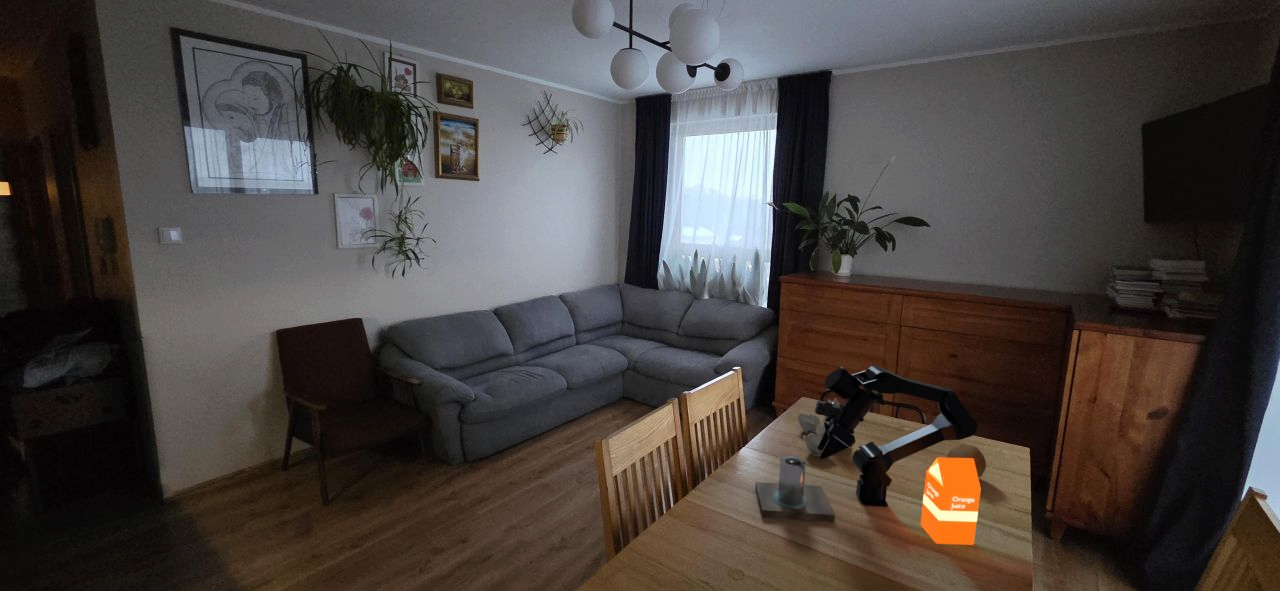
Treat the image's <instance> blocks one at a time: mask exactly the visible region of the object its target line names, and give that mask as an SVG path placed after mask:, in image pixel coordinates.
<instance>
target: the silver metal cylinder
mask: <svg viewBox="0 0 1280 591" xmlns="http://www.w3.org/2000/svg"><path fill="white" fill-rule="evenodd" d="M805 477H806V461H805V460H804V459H802V458H800V457H797V456H791V455H788V456H782V457H781V458H780V459H779V477H778V483H779V490H778V499H779V500H780V501H781V502H782V503H784V504H787V505H791V506H797V505H801V504H802V503H803V496H804V485H805V482H806V481H805V479H806V478H805Z"/></svg>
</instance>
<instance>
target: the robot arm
mask: <svg viewBox="0 0 1280 591" xmlns="http://www.w3.org/2000/svg"><path fill="white" fill-rule="evenodd" d="M861 386H862V387H861ZM824 387H825V388H826V389H828V390H829V391H831V392H832V393H833V394H834V395H837V396H838V397H840V398H841V399H842V400H846V401H845V402H844V403H843V402H841V403H840V406H839V407H838V406H835V405H832V403H829V402H828V400H827V401H822V400H821V399H820V400H819V399H818V400H817V401H816V405H815V408H814V413H815V415H819V416H824V418H825V419H824V418H823V419H824V420H825V421H826V422H827V421H828V422H827V423H826V422H825V421H824V420H823V423H824V426H825V432H824V434H823V436H822V439H821V441H820V443H819V445H818V450H820V451H821V450H823V451H822V453H821V455H820V457H819V458H820V459H821V460H825V459H827V458H829V457H831V456H833V455H835V454H838V453H840V452H842V451H844V450H847V449H849V448H852V447H853V446H854V445H855V444H856V436H855V429H856V428H857V426H858V425H859V424H861V423H863V421H865V418H864V417H865V416H867V414H868V413H869V412H870V410H871V409H872V408H873V406H874V405H875V404H876V403H878V404H879V405H881V406H884V405H885V400H884V395H885V394H887V395H895V394H904V395H908V396H910V397H911V396H912V397H915V398H919V399H923V400H928V401H931V402H932V401H933V402H934V403H935V402H937V406H938V409H939V411H940V413H939V414H938V415H937V416H936V417H935V418H934V421H933V422H932V423H930V424H928V425H926V426H924V427H922V428H919V429H918V430H915V431H913V432H911V433H908V434H906V435H904V436H902V437H899V438H897V439H894V440H893V441H892V440H891V441H890V442H889V443H886V444H883V445H877V443H875V442H874V441H869V442H868V443H866V444H864V445H860V446H858V449H856V450H855V451H854V452H853V456H852V463H853V464H854V466H855V467H856V468H857V470H858V472H859V473H861V474H859V479H858V480H857V481H856V491H855V494H856V496H857V498H858V499H859V500H860V502H861V503H862V505H863V506H875V507H888V506H889V504H888V502H887V501H886V499H887V490H888V487H890V486H891V483H892V481H893V479H892V478H891V477H890V476H889V475H888V474H887V472H888V471H889V470H890V469H891V467H893V464H895V463H896V462H898V461H901V460H903V459H905V458H907V457H909V456H912V455H914V454H917V453H919V452H921V451H923V450H925V449H928V448H930V447H932V446H935V445H937V444H939V443H941V442H944V441H960V440H963V439H968V438H971V437H973V436H974V435H975V434H976V432H977V429H978V423H977V420H976V419H975V418H974V417H972V416H971V414H970V412H969V411H968V409H967V408H966V407H965V406H964V404H963V403H962V402H961V401H960V399H959V398H960V397H959V396H958V395H957V393H956V392H955V391H953V390H951V389H950V388H948V387H946V386H939V385H935V384H933V383H927V382H923V381H919V380H915V379H911V378H907V377H903V376H901V375H898V374H896V373H894V372H892V371H890V370H888V369H886V368H883V367H881V366H879V365H871V366H870V367H868V368H867V369H865V370H862V371H860V372H856V373H853V374H851V373H850V372H849V371H848V370H847V369H845V367H843V366H839V368H838V369H835V370H832V372H830V373H828V375H827V376H826V378H825V380H824ZM883 394H884V395H883ZM825 416H826V417H825Z"/></svg>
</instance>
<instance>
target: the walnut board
mask: <svg viewBox="0 0 1280 591" xmlns="http://www.w3.org/2000/svg"><path fill="white" fill-rule="evenodd" d="M754 489H755V493H756V497H757V501H758V502H757V503H758V505H759V510H760V514H761V518H766V519H767V518H768V519H779V518H781V519H782V520H783V519H784V520H794V519H801V520H800V521H809V520H817V521H816V522H824V521H826V522H827V523H835V520H836V514H835V512H834V510H833V507H832V506H831V503H830V501H829V500H828V497H827V495H826V493H825V491H824V489H823V487H822V485H814V484H812V485H810V484H804V496H803V503H802V504H801V505H797V506H791V505H787V504H784V503H782V502H781V501H780V500H779V499H778V490H779V482H778V483H777V482H775V483H774V482H761V481H755V488H754ZM826 522H825V523H826Z"/></svg>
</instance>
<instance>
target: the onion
mask: <svg viewBox="0 0 1280 591" xmlns="http://www.w3.org/2000/svg"><path fill="white" fill-rule="evenodd" d="M946 458H974V462H975V466H976V471H977V475H978V479H980V477H982V476H983V475H984V473H985V471H986V468H987V461H986V458H985V456H984V454H983V453H982V452H981V450H980V449H979V448H977V447H976V446H974V445H970V444H966V443H965V444H964V443H963V444H957V445H955V446H953V447H951V449H950V450H949V451H948V453H947V457H946Z"/></svg>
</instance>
